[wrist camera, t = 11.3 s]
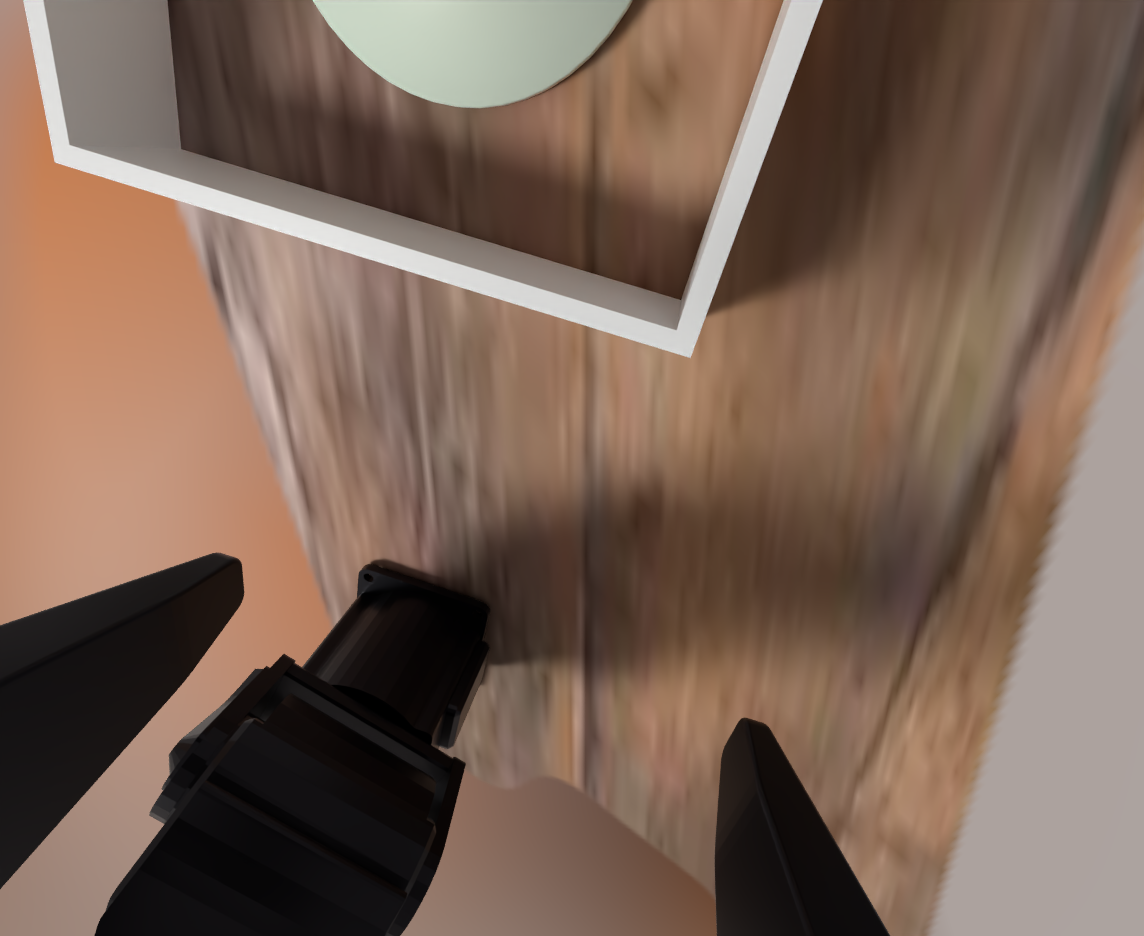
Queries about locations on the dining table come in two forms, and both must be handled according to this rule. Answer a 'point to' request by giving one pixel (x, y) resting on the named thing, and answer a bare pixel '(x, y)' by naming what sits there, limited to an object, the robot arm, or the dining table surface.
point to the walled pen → (423, 68)
